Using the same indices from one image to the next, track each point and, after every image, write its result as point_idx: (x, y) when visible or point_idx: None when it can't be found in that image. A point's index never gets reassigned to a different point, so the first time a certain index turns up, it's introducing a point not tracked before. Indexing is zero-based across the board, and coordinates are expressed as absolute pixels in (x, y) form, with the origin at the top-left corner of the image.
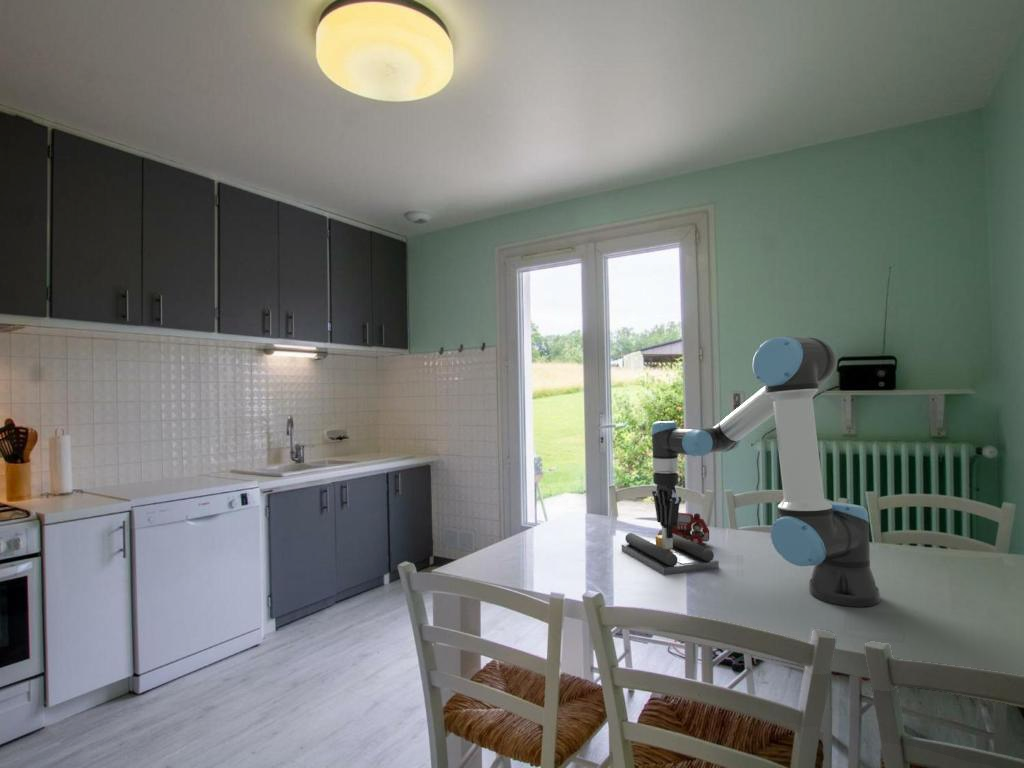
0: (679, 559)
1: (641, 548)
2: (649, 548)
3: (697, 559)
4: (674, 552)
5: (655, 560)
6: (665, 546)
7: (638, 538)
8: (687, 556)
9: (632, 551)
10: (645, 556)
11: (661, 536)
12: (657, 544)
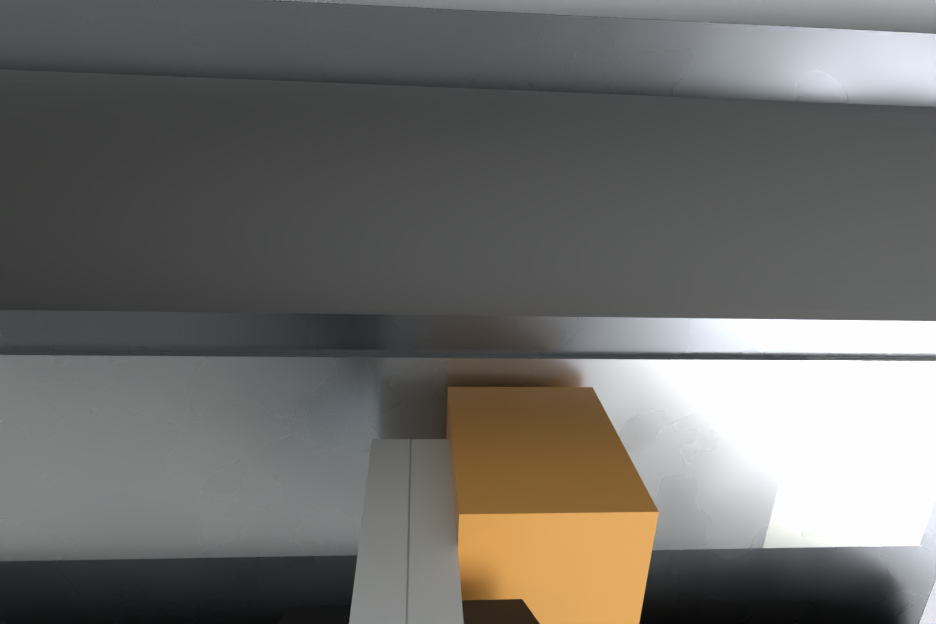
0: (27, 425)
1: (563, 92)
2: (256, 100)
3: (14, 615)
4: (357, 520)
5: None
6: (369, 467)
7: (854, 196)
8: (170, 578)
9: (743, 24)
10: (352, 43)
11: (558, 579)
12: (558, 425)
